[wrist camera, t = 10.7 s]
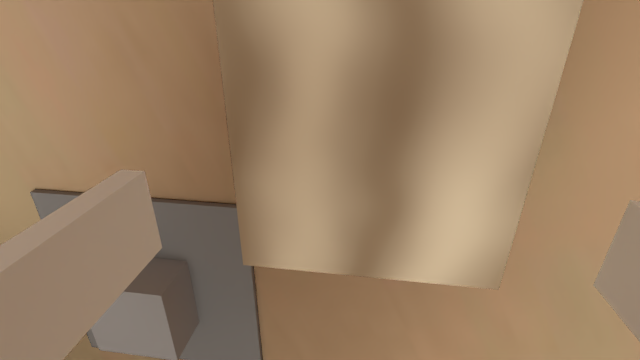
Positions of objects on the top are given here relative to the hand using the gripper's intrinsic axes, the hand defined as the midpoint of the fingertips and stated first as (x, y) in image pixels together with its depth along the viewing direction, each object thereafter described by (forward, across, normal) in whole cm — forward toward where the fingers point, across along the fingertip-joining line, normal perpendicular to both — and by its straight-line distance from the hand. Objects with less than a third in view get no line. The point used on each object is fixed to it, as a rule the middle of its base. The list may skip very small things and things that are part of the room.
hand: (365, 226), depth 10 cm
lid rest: (+14, +18, +17) cm, 28 cm away
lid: (+7, 0, 0) cm, 7 cm away
